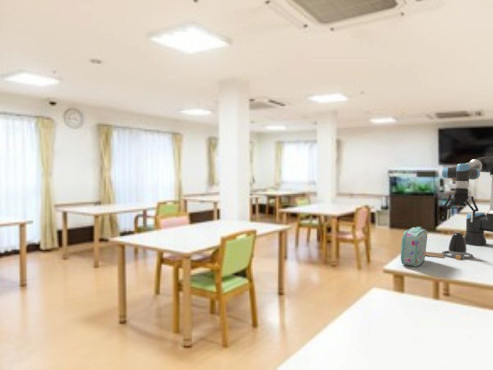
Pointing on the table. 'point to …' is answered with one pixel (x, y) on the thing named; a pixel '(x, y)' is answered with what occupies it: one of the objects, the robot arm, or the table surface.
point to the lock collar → (457, 256)
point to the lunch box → (414, 246)
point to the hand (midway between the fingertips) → (459, 220)
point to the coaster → (434, 254)
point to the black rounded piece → (457, 245)
